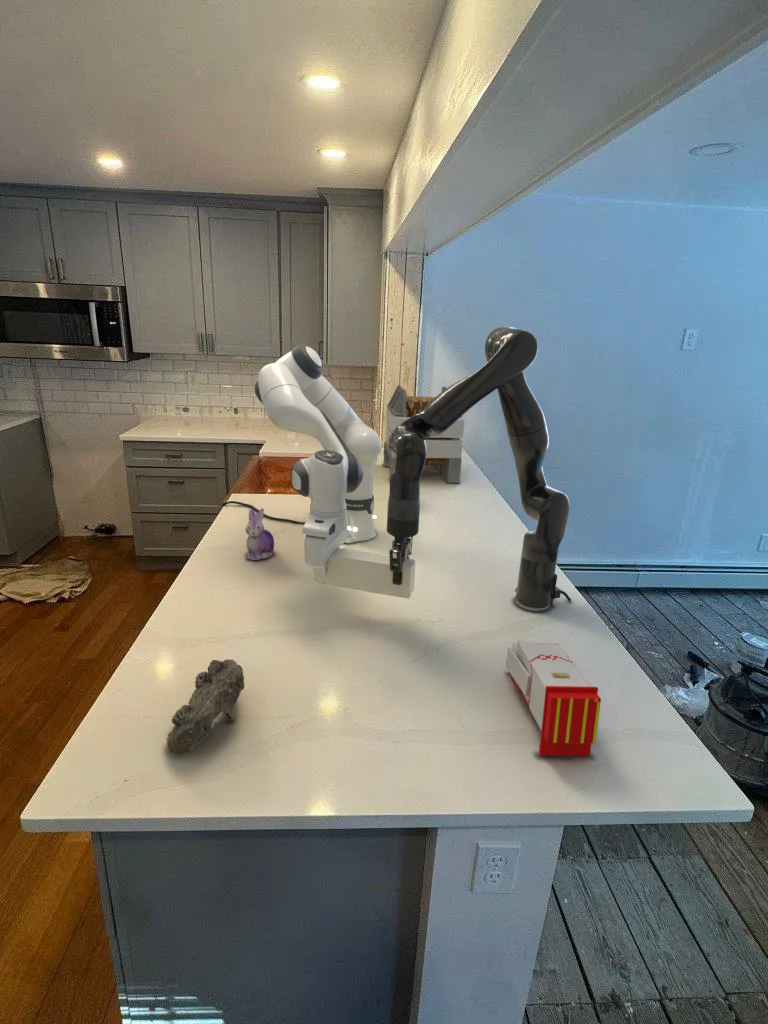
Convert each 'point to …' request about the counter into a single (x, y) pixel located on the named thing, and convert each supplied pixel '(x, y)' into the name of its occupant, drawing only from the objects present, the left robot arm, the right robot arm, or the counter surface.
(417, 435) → the right robot arm
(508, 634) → the counter surface
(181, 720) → the fossil
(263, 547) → the figurine
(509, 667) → the toy
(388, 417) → the transformer
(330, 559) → the bar
